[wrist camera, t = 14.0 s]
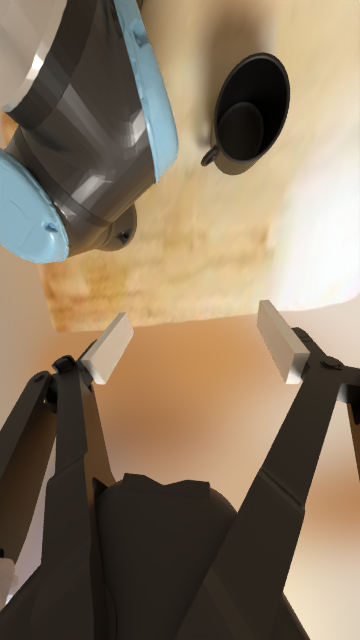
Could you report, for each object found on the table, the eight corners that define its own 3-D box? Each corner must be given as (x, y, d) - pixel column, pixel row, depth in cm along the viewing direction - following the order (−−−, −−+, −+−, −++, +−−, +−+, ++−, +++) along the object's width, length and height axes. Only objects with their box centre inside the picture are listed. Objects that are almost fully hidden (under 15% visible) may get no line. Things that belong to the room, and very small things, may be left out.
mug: (189, 141, 29) (184, 116, 22) (255, 79, 25) (279, 21, 17) (211, 196, 33) (214, 190, 26) (273, 151, 29) (298, 128, 21)
